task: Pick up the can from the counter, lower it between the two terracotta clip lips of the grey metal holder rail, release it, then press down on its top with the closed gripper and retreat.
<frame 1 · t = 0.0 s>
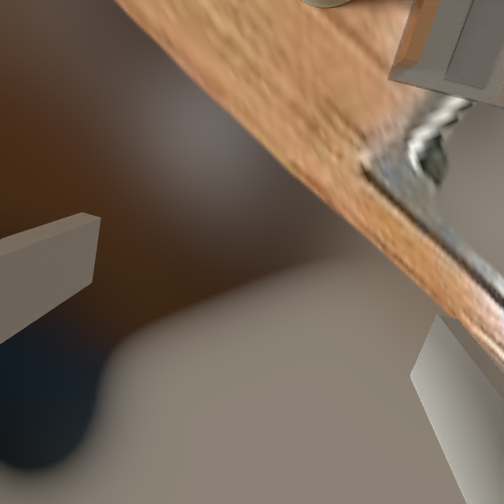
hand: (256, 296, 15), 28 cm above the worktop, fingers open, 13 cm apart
rail holder: (491, 2, 35), on the worktop
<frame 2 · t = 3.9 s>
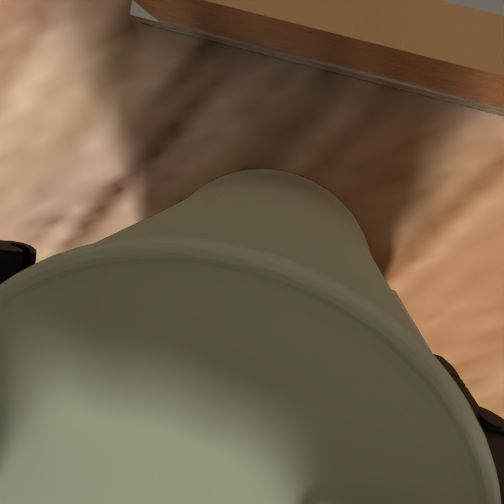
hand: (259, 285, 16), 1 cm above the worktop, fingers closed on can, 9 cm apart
can: (262, 275, 17), on the worktop, touching gripper
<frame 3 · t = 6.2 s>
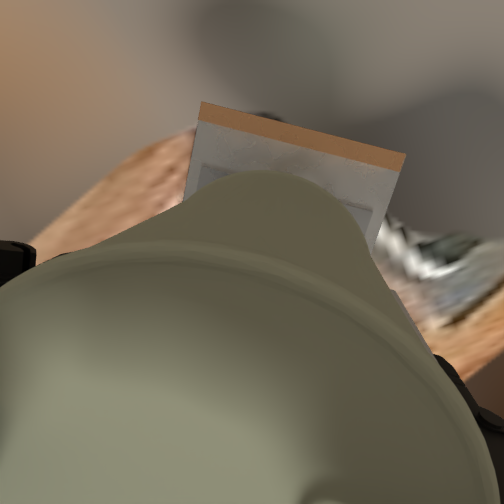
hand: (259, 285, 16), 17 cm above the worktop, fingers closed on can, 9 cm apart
rail holder: (281, 208, 33), on the worktop
can: (262, 276, 17), point 16 cm above the worktop, touching gripper
when the fingers open (3 cm above the worktop, at t = 8.9 s): can stays where it is, resting on rail holder.
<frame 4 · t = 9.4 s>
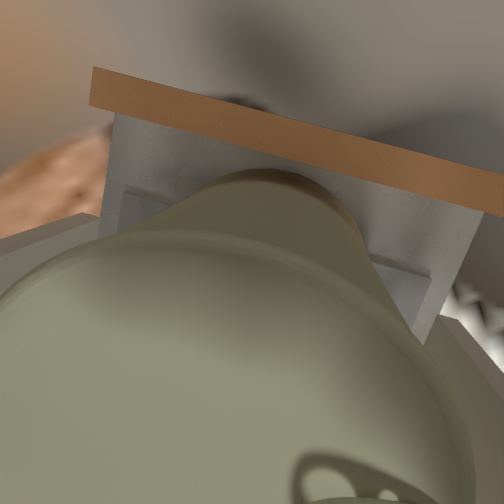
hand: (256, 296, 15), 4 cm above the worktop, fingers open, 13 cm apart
rail holder: (266, 263, 19), on the worktop
can: (262, 271, 18), point 1 cm above the worktop, touching rail holder
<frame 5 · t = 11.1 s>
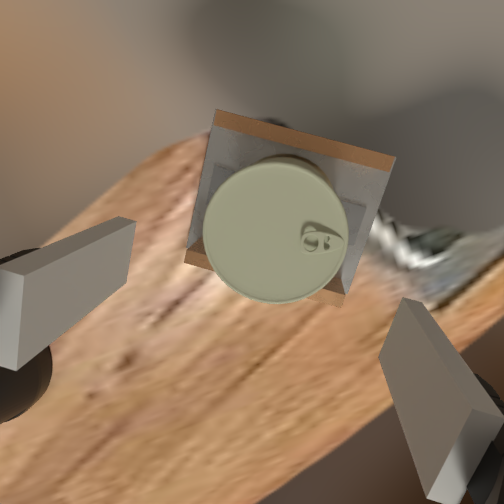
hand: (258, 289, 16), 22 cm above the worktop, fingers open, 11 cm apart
rail holder: (284, 203, 37), on the worktop
can: (283, 206, 35), point 1 cm above the worktop, touching rail holder
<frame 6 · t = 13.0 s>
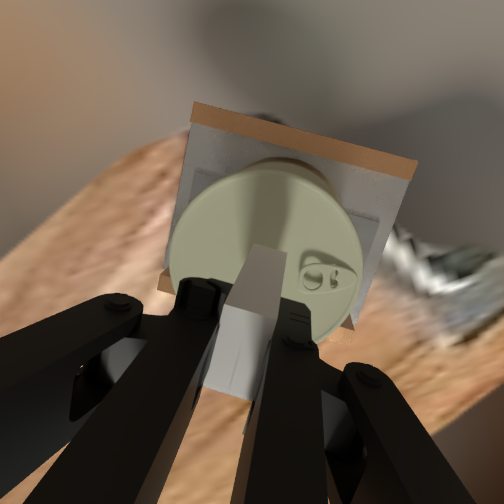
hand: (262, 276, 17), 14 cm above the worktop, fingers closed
rail holder: (280, 216, 30), on the worktop
can: (278, 220, 29), point 1 cm above the worktop, touching rail holder
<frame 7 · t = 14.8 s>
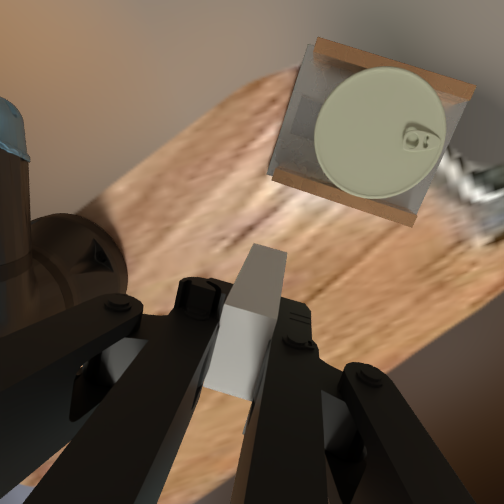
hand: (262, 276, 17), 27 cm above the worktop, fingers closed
rail holder: (361, 136, 40), on the worktop
can: (361, 137, 39), point 1 cm above the worktop, touching rail holder
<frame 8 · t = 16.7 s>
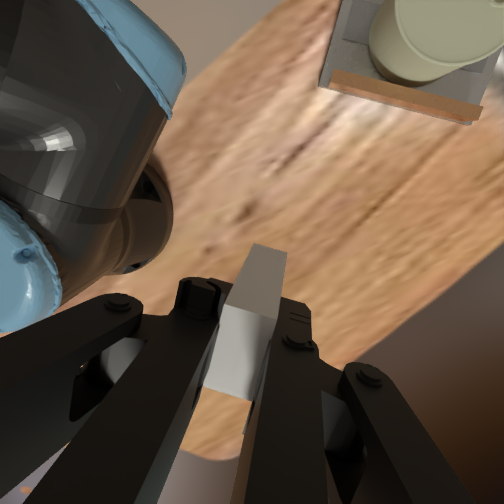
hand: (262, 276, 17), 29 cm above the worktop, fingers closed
rail holder: (414, 39, 39), on the worktop
can: (417, 36, 38), point 1 cm above the worktop, touching rail holder
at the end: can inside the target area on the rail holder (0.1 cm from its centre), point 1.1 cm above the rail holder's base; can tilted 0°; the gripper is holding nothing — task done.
